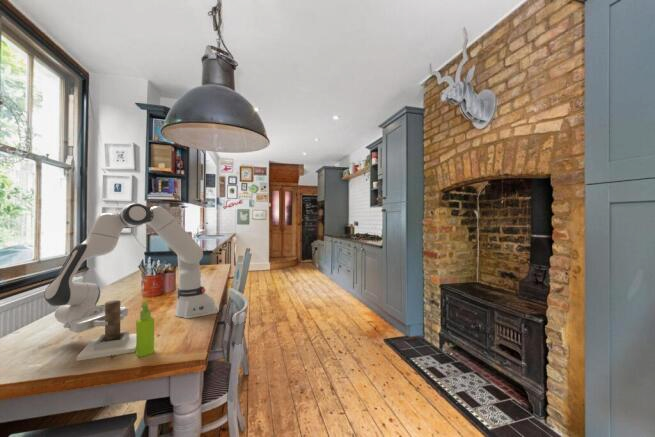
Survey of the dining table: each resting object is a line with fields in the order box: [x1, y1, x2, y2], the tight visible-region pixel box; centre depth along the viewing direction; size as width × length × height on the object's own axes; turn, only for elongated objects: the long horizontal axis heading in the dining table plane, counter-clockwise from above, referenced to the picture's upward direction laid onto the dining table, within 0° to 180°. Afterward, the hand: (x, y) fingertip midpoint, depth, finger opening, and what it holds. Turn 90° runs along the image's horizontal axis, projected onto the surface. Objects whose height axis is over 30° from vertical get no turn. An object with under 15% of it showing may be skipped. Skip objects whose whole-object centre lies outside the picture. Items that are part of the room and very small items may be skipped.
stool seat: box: [76, 331, 136, 362], centre depth 115 cm, size 18×16×4 cm
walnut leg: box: [104, 299, 121, 342], centre depth 115 cm, size 5×5×16 cm
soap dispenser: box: [135, 301, 155, 357], centre depth 111 cm, size 6×7×20 cm
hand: (114, 320), depth 115 cm, fingers closed on walnut leg, 5 cm apart
